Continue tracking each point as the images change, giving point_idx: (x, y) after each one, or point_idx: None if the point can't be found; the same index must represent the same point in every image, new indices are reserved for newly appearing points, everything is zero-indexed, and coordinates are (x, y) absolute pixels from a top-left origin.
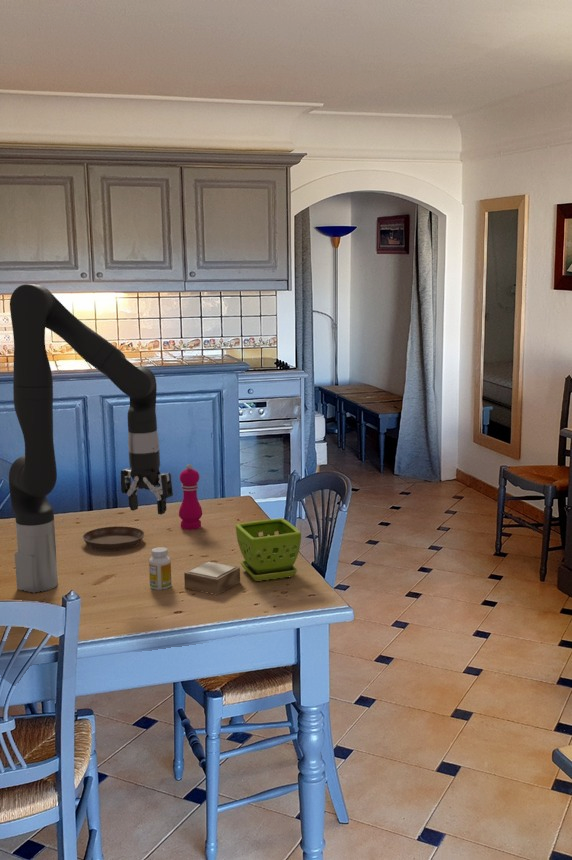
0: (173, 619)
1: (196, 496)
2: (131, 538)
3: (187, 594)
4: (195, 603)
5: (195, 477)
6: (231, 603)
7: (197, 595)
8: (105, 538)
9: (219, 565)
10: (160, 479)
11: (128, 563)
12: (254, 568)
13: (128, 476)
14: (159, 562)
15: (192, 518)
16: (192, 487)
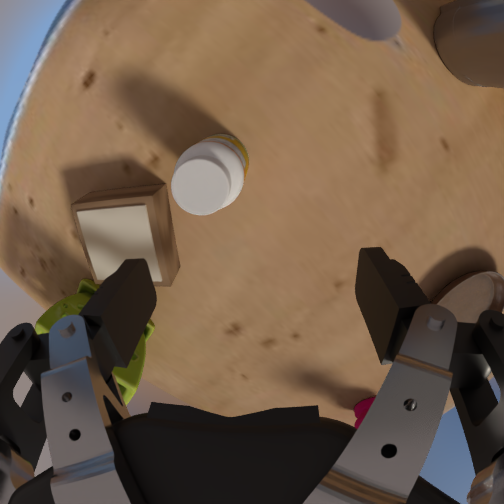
0: (76, 52)
1: None
2: None
3: (135, 158)
4: (91, 133)
5: None
6: (52, 178)
7: (116, 167)
8: (476, 315)
9: None
10: (9, 474)
11: (392, 244)
12: (84, 295)
13: (499, 480)
14: (184, 153)
15: (363, 416)
16: None
